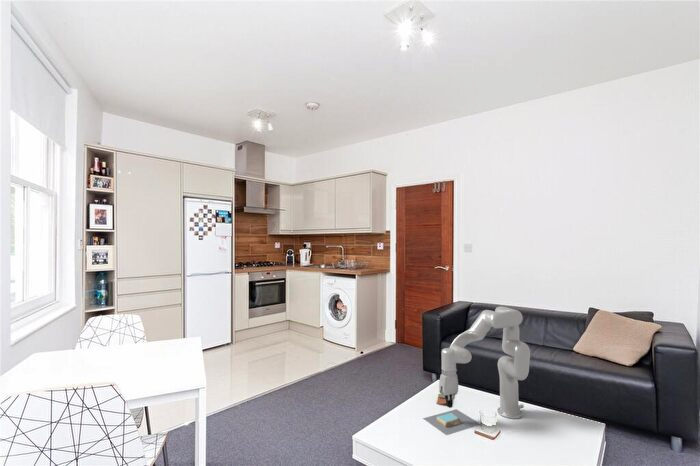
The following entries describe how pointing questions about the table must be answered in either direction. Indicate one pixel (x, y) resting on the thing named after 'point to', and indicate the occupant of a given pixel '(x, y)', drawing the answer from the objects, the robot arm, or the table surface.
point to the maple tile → (448, 420)
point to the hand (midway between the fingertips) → (449, 406)
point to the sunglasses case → (441, 400)
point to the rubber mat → (464, 424)
